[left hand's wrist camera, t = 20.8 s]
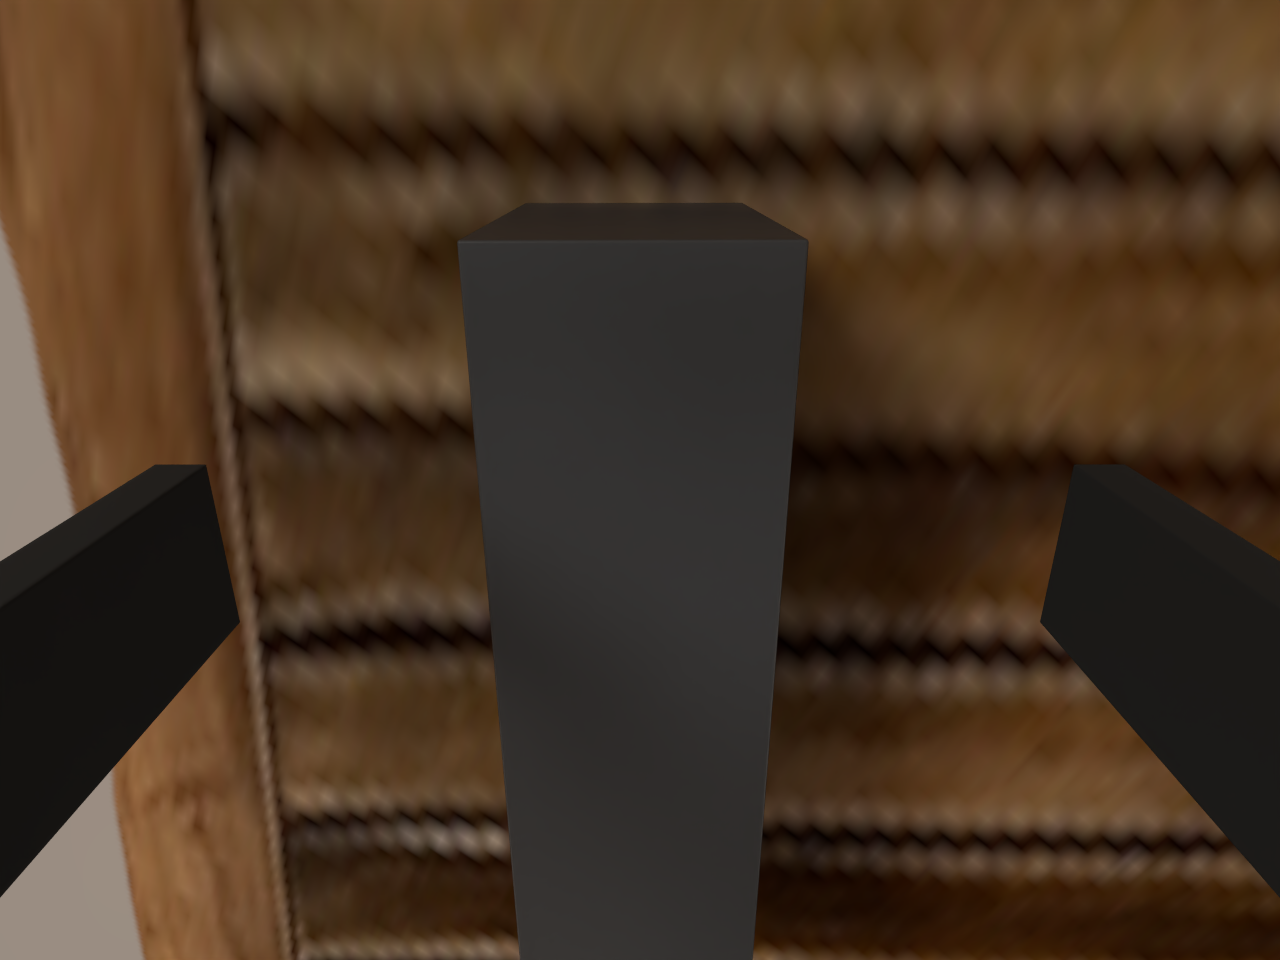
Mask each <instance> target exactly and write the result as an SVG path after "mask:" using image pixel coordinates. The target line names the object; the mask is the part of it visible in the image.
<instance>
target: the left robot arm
mask: <svg viewBox="0 0 1280 960" xmlns="http://www.w3.org/2000/svg"><path fill="white" fill-rule="evenodd" d="M239 622H240V620H239V616H238V611H237V607H236V602H235V597H234V593H233V588H232V583H231V579H230V574H229V570H228V565H227V560H226V556H225V551H224V546H223V542H222V537H221V532H220V528H219V523H218V519H217V514H216V509H215V505H214V500H213V495H212V491H211V486H210V481H209V477H208V472H207V468H206V465H154V466H152V467H151V468H149V469H148V470H146V471H144V472H143V473H141V474H140V475H138V476H136V477H135V478H133V479H132V480H130V481H128V482H127V483H125V484H124V485H122V486H120V487H119V488H117V489H116V490H114V491H112V492H111V493H109V494H108V495H106V496H104V497H103V498H101V499H100V500H98V501H96V502H95V503H93V504H92V505H90V506H88V507H87V508H85V509H83V510H82V511H80V512H79V513H77V514H75V515H74V516H72V517H71V518H69V519H67V520H66V521H64V522H63V523H61V524H59V525H58V526H56V527H55V528H53V529H51V530H50V531H48V532H47V533H45V534H44V535H42V536H40V537H39V538H37V539H35V540H34V541H32V542H31V543H29V544H27V545H26V546H24V547H23V548H21V549H19V550H18V551H16V552H15V553H13V554H11V555H10V556H8V557H7V558H5V559H3V560H2V561H0V897H1V896H2V895H3V894H4V893H5V891H6V890H7V889H8V888H9V887H10V886H11V885H12V883H13V882H14V881H15V880H16V879H17V878H18V876H19V875H20V874H21V873H22V872H23V871H24V870H25V868H26V867H27V866H28V865H29V864H30V863H31V862H32V860H33V859H34V858H35V857H36V856H37V855H38V853H39V852H40V851H41V850H42V849H43V848H44V847H45V845H46V844H47V843H48V842H49V841H50V840H51V839H52V837H53V836H54V835H55V834H56V833H57V832H58V830H59V829H60V828H61V827H62V826H63V825H64V824H65V822H66V821H67V820H68V819H69V818H70V817H71V816H72V814H73V813H74V812H75V811H76V810H77V809H78V807H79V806H80V805H81V804H82V803H83V802H84V801H85V799H86V798H87V797H88V796H89V795H90V794H91V793H92V791H93V790H94V789H95V788H96V787H97V786H98V785H99V783H100V782H101V781H102V780H103V779H104V778H105V776H106V775H107V774H108V773H109V772H110V771H111V770H112V768H113V767H114V766H115V765H116V764H117V763H118V762H119V760H120V759H121V758H122V757H123V756H124V755H125V753H126V752H127V751H128V750H129V749H130V748H131V747H132V745H133V744H134V743H135V742H136V741H137V740H138V739H139V737H140V736H141V735H142V734H143V733H144V732H145V730H146V729H147V728H148V727H149V726H150V725H151V724H152V722H153V721H154V720H155V719H156V718H157V717H158V716H159V714H160V713H161V712H162V711H163V710H164V709H165V708H166V706H167V705H168V704H169V703H170V702H171V701H172V699H173V698H174V697H175V696H176V695H177V694H178V693H179V691H180V690H181V689H182V688H183V687H184V686H185V685H186V683H187V682H188V681H189V680H190V679H191V678H192V676H193V675H194V674H195V673H196V672H197V671H198V670H199V668H200V667H201V666H202V665H203V664H204V663H205V662H206V660H207V659H208V658H209V657H210V656H211V655H212V653H213V652H214V651H215V650H216V649H217V648H218V647H219V645H220V644H221V643H222V642H223V641H224V640H225V639H226V637H227V636H228V635H229V634H230V633H231V632H232V631H233V629H234V628H235V627H236V626H237V625H238V624H239ZM1040 622H1041V624H1042V625H1043V626H1044V627H1045V628H1046V629H1047V631H1048V632H1049V633H1050V634H1051V635H1052V636H1053V637H1054V639H1055V640H1056V641H1057V642H1058V643H1059V644H1060V645H1061V647H1062V648H1063V649H1064V650H1065V651H1066V652H1067V653H1068V655H1069V656H1070V657H1071V658H1072V659H1073V660H1074V662H1075V663H1076V664H1077V665H1078V666H1079V667H1080V668H1081V670H1082V671H1083V672H1084V673H1085V674H1086V675H1087V676H1088V678H1089V679H1090V680H1091V681H1092V682H1093V683H1094V685H1095V686H1096V687H1097V688H1098V689H1099V690H1100V691H1101V693H1102V694H1103V695H1104V696H1105V697H1106V698H1107V699H1108V701H1109V702H1110V703H1111V704H1112V705H1113V706H1114V708H1115V709H1116V710H1117V711H1118V712H1119V713H1120V714H1121V716H1122V717H1123V718H1124V719H1125V720H1126V721H1127V722H1128V724H1129V725H1130V726H1131V727H1132V728H1133V729H1134V730H1135V732H1136V733H1137V734H1138V735H1139V736H1140V737H1141V739H1142V740H1143V741H1144V742H1145V743H1146V744H1147V745H1148V747H1149V748H1150V749H1151V750H1152V751H1153V752H1154V753H1155V755H1156V756H1157V757H1158V758H1159V759H1160V760H1161V762H1162V763H1163V764H1164V765H1165V766H1166V767H1167V768H1168V770H1169V771H1170V772H1171V773H1172V774H1173V775H1174V776H1175V778H1176V779H1177V780H1178V781H1179V782H1180V783H1181V785H1182V786H1183V787H1184V788H1185V789H1186V790H1187V791H1188V793H1189V794H1190V795H1191V796H1192V797H1193V798H1194V799H1195V801H1196V802H1197V803H1198V804H1199V805H1200V806H1201V807H1202V809H1203V810H1204V811H1205V812H1206V813H1207V814H1208V816H1209V817H1210V818H1211V819H1212V820H1213V821H1214V822H1215V824H1216V825H1217V826H1218V827H1219V828H1220V829H1221V830H1222V832H1223V833H1224V834H1225V835H1226V836H1227V837H1228V839H1229V840H1230V841H1231V842H1232V843H1233V844H1234V845H1235V847H1236V848H1237V849H1238V850H1239V851H1240V852H1241V853H1242V855H1243V856H1244V857H1245V858H1246V859H1247V860H1248V862H1249V863H1250V864H1251V865H1252V866H1253V867H1254V868H1255V870H1256V871H1257V872H1258V873H1259V874H1260V875H1261V876H1262V878H1263V879H1264V880H1265V881H1266V882H1267V883H1268V885H1269V886H1270V887H1271V888H1272V889H1273V890H1274V891H1275V893H1276V894H1277V895H1278V896H1279V897H1280V561H1278V560H1277V559H1275V558H1273V557H1272V556H1270V555H1269V554H1267V553H1265V552H1264V551H1262V550H1261V549H1259V548H1257V547H1256V546H1254V545H1253V544H1251V543H1249V542H1248V541H1246V540H1245V539H1243V538H1241V537H1240V536H1238V535H1237V534H1235V533H1233V532H1232V531H1230V530H1229V529H1227V528H1225V527H1224V526H1222V525H1221V524H1219V523H1217V522H1216V521H1214V520H1213V519H1211V518H1209V517H1208V516H1206V515H1205V514H1203V513H1201V512H1200V511H1198V510H1197V509H1195V508H1193V507H1192V506H1190V505H1188V504H1187V503H1185V502H1184V501H1182V500H1180V499H1179V498H1177V497H1176V496H1174V495H1172V494H1171V493H1169V492H1168V491H1166V490H1164V489H1163V488H1161V487H1160V486H1158V485H1156V484H1155V483H1153V482H1152V481H1150V480H1148V479H1147V478H1145V477H1144V476H1142V475H1140V474H1139V473H1137V472H1136V471H1134V470H1132V469H1131V468H1129V467H1128V466H1126V465H1074V468H1073V472H1072V477H1071V481H1070V486H1069V491H1068V495H1067V500H1066V505H1065V509H1064V514H1063V519H1062V523H1061V528H1060V532H1059V537H1058V542H1057V546H1056V551H1055V556H1054V560H1053V565H1052V570H1051V574H1050V579H1049V583H1048V588H1047V593H1046V597H1045V602H1044V607H1043V611H1042V616H1041V620H1040Z"/></svg>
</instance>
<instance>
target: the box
mask: <svg viewBox="0 0 1280 960" xmlns="http://www.w3.org/2000/svg"><path fill="white" fill-rule="evenodd" d="M808 243H809V242H808V240H807V239H805V238H803V237H802V236H800V235H798V234H796V233H794V232H793V231H791V230H789V229H787V228H786V227H784V226H782V225H780V224H778V223H777V222H775V221H773V220H771V219H770V218H768V217H766V216H764V215H763V214H761V213H759V212H757V211H755V210H754V209H752V208H750V207H748V206H747V205H745V204H743V203H526V204H524V205H522V206H520V207H518V208H516V209H515V210H513V211H511V212H509V213H507V214H506V215H504V216H502V217H500V218H498V219H497V220H495V221H493V222H491V223H489V224H487V225H486V226H484V227H482V228H480V229H478V230H477V231H475V232H473V233H471V234H469V235H468V236H466V237H464V238H462V239H460V240H459V241H458V243H457V245H458V256H459V268H460V279H461V291H462V302H463V313H464V325H465V336H466V348H467V359H468V370H469V382H470V393H471V405H472V416H473V428H474V439H475V450H476V462H477V473H478V485H479V496H480V507H481V519H482V530H483V542H484V553H485V565H486V576H487V587H488V599H489V610H490V622H491V633H492V644H493V656H494V667H495V679H496V690H497V702H498V713H499V724H500V736H501V747H502V759H503V770H504V781H505V793H506V804H507V816H508V827H509V838H510V850H511V861H512V873H513V884H514V896H515V907H516V918H517V930H518V941H519V953H520V960H753V947H754V934H755V921H756V908H757V896H758V883H759V870H760V857H761V844H762V832H763V819H764V806H765V793H766V780H767V768H768V755H769V742H770V729H771V716H772V704H773V691H774V678H775V665H776V652H777V640H778V627H779V614H780V601H781V588H782V576H783V563H784V550H785V537H786V524H787V512H788V499H789V486H790V473H791V460H792V448H793V435H794V422H795V409H796V396H797V384H798V371H799V358H800V345H801V332H802V320H803V307H804V294H805V281H806V268H807V256H808Z"/></svg>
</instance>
